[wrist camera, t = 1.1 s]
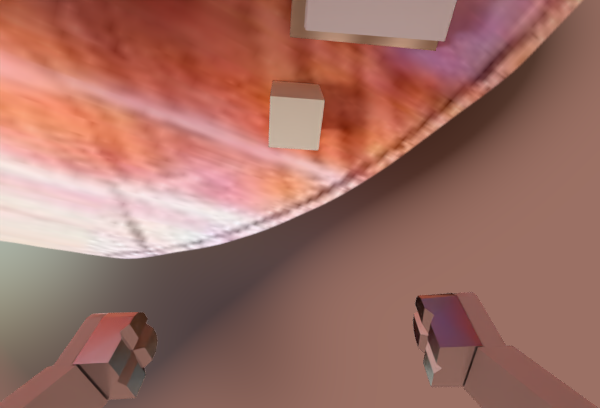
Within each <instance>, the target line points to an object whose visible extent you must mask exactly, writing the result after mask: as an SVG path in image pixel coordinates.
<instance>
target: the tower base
mask: <svg viewBox="0 0 600 408" xmlns="http://www.w3.org/2000/svg"><path fill="white" fill-rule="evenodd" d="M305 7H306V0H292V6H291V23H290V37H294V38H305V39H316V40H326V41H337V42H348V43H359V44H369V45H380V46H391V47H401V48H412V49H423V50H433V51H436V47H437V44H438V41H432V40H420V39H407V38H395V37H382V36H370V35H357V34H344V33H332V32H319V31H307V30H305V28H304V21H305Z"/></svg>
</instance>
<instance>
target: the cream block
mask: <svg viewBox="0 0 600 408" xmlns="http://www.w3.org/2000/svg"><path fill="white" fill-rule="evenodd" d="M324 103H325V100H324V97H323V94H322V91H321V88H320V85H319V84H309V83H297V82H285V81H272V88H271V94H270V118H269V147H274V148H289V149H304V150H318V149H319V141H320V133H321V126H322V118H323V110H324Z"/></svg>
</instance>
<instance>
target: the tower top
mask: <svg viewBox="0 0 600 408" xmlns="http://www.w3.org/2000/svg"><path fill="white" fill-rule="evenodd" d="M456 2H457V0H306V7H305V21H304V28H305V30H307V31H319V32H332V33H344V34H357V35H370V36H382V37H395V38H407V39H420V40H432V41H445V38H446V35H447V32H448V28H449V25H450V22H451V18H452V15H453V12H454V8H455V5H456Z"/></svg>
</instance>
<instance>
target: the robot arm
mask: <svg viewBox="0 0 600 408" xmlns="http://www.w3.org/2000/svg"><path fill="white" fill-rule="evenodd" d="M415 305H416V308H417V312H416V313H415V314H414V317H413V328H414V334H415V339H416V342H417V346H418V347H419V349H420V350H421V351H422V352H424V353H425V355H424V360H423V364H424V367H425V370H426V373H427V376H428V379H429V382H430V386H431V387H464V390H466V392H467V393H468V394H469V395H470V396H471V397H472V398H473V399H474V400H475V401H476V402H477V403H478V404H479V405H480V407H481V408H598V407H597V406H595V405H594V404H593V403H591V402H590V401H588V400H587V399H586V398H584V397H583V396H581V395H580V394H579V393H577V392H576V391H575V390H573V389H572V388H570V387H569V386H568V385H566V384H565V383H563V382H562V381H561V380H559V379H558V378H557V377H555V376H554V375H552V374H551V373H550V372H548V371H547V370H545V369H544V368H543V367H541V366H540V365H539V364H537V363H536V362H534V361H533V360H532V359H530V358H529V357H527V356H526V355H525V354H523V353H522V352H520V351H519V350H518V349H516V348H515V347H514V346H506V344H505V343H504V341H503V339H502V338H501V336H500V334H499V333H498V331H497V329H496V327H495V326H494V324H493V322H492V321H491V319H490V317H489V315H488V314H487V312H486V310H485V309H484V307H483V305H482V303H481V302H480V300H479V298H478V297H477V295H476V294H475V293H473V292H470V293H469V292H468V293H454V294H453V293H447V294H432V295H419V296H417V298H416V302H415ZM147 320H148V318H147V317H146V315H145V314H144V313H143V312H129V313H100V314H92V315H90V316H89V317H88V318H86V320H85V321H84V323H83V324H82V325H81V327H80V329H79V330H78V331H77V333H76V334H75V336H74V337H73V338H72V340H71V341H70V343H69V344H68V346H67V347H66V348H65V350H64V351H63V353H62V354H61V356H60V357H59V358H58V360H57V361H56V363H55V364H54V366H48V367H47V368H45V369H44V370H43V371H41V372H40V373H39V374H37V375H36V376H35V377H33V378H32V379H31V380H29V381H28V382H27V383H25V384H24V385H23V386H21V387H20V388H19V389H17V390H16V391H15V392H13V393H12V394H11V395H9V396H8V397H6V398H5V399H4V400H2V401H1V402H0V408H102V407H103V406H104V405H105V404H106V403H107V402H108V401H107V400H110V399H126V398H136V397H137V394H138V392H139V389H140V387H141V385H142V383H143V380H144V378H145V376H146V372H145V368H144V367H145V366H146V365H147V364H148V363H149V362H150V361H152V359H153V357H154V355H155V352H156V348H157V341H158V340H157V335H156V332H155V330H154V328H152V327H151V326H149V325H147V324H146V322H147Z"/></svg>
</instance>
